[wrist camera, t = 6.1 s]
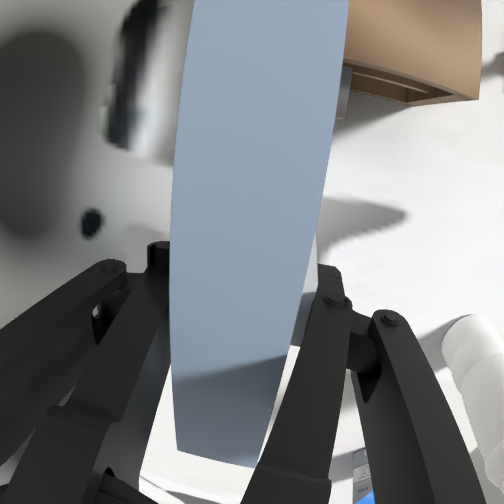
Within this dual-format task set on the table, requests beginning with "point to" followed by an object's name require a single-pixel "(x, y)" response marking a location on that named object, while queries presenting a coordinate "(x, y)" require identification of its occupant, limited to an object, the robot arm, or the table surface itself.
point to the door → (246, 208)
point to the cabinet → (412, 51)
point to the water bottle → (480, 385)
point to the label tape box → (362, 479)
